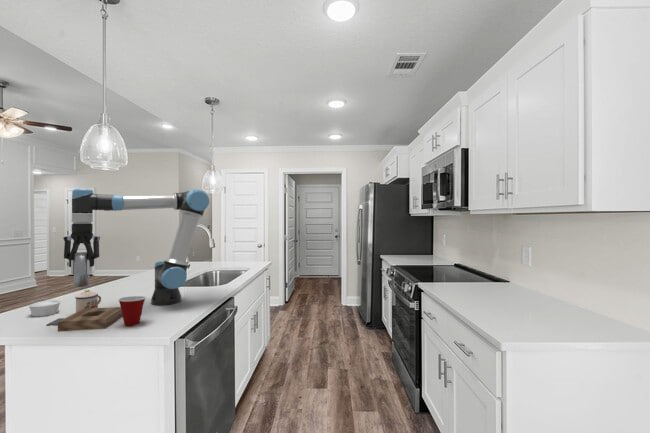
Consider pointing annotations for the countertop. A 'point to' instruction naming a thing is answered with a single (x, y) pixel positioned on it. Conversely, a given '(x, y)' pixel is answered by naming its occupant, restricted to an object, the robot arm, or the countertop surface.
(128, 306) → the plastic cup
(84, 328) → the frame
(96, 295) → the teacup with lid
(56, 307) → the ramekin
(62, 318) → the pad
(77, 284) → the grey metal cylinder
